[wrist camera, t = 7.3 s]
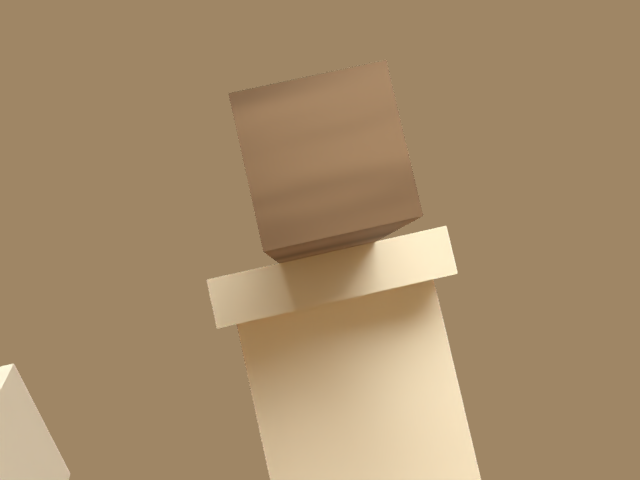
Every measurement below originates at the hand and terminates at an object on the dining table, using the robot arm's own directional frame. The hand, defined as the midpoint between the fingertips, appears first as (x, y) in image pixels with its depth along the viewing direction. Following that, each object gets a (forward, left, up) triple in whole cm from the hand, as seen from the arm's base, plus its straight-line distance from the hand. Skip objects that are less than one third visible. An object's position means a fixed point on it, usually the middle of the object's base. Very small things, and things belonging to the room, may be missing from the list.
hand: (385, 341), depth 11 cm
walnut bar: (-5, +14, +2) cm, 15 cm away
